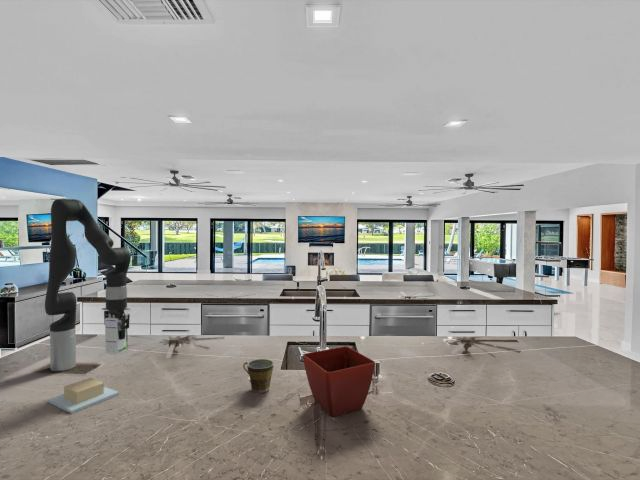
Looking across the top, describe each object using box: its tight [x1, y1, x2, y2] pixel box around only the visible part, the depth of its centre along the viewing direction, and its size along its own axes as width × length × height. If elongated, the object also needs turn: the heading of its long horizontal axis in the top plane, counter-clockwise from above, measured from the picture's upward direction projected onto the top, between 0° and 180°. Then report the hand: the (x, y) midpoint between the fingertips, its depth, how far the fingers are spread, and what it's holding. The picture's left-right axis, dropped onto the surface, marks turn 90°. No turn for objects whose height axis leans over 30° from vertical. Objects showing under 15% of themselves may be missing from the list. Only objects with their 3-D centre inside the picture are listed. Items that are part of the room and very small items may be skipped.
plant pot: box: [302, 346, 376, 417], centre depth 125 cm, size 19×19×17 cm
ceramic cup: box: [242, 358, 274, 394], centre depth 139 cm, size 13×10×10 cm
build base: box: [47, 377, 120, 414], centre depth 130 cm, size 16×16×5 cm
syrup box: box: [104, 317, 129, 355], centre depth 145 cm, size 6×6×14 cm
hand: (116, 337), depth 145 cm, fingers closed on syrup box, 6 cm apart
